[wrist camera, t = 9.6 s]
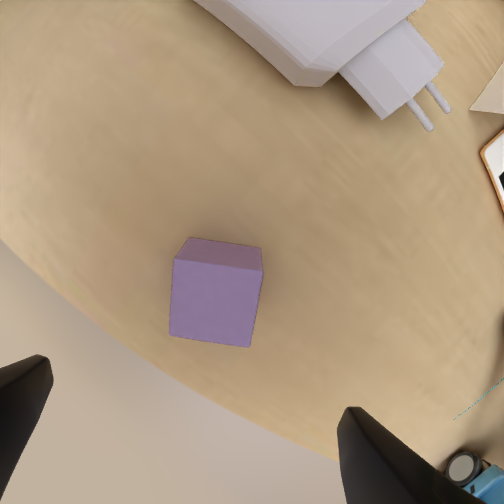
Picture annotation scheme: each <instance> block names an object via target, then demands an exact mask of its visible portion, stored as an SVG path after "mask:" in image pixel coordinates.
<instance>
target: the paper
mask: <svg viewBox="0 0 504 504" xmlns="http://www.w3.org/2000/svg"><path fill="white" fill-rule="evenodd" d="M469 110H474V111H484V112H492V113H500V114H504V62H503V63H502V65H501V66H500V68H499V69H498V71H497V72H496V74H495V75H494V76H493V78H492V79H491V81H490V82H489V83H488V85H487V86H486V88H485V89H484V90H483V92H482V93H481V94H480V96H479V97H478V98H477V100H476V101H475V102H474V104H473V105H472V106H471V108H470V109H469Z"/></svg>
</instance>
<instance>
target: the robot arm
mask: <svg viewBox="0 0 504 504" xmlns="http://www.w3.org/2000/svg"><path fill="white" fill-rule="evenodd" d="M52 386H53V374H52V370H51V364H50V361H49V359H48V358H47V357H44V356H42V355H34V356H31V357H29V358H26V359H24V360H21V361H18V362H16V363H13V364H10V365H8V366H5V367H2V368H0V500H1V498H2V495H3V493H4V491H5V488H6V486H7V484H8V482H9V480H10V477H11V475H12V473H13V471H14V469H15V466H16V464H17V462H18V460H19V458H20V456H21V454H22V452H23V450H24V448H25V446H26V444H27V442H28V440H29V438H30V436H31V434H32V432H33V430H34V428H35V426H36V424H37V422H38V420H39V418H40V415H41V413H42V410H43V408H44V405H45V403H46V400H47V398H48V395H49V393H50V391H51V388H52ZM337 437H338V447H339V459H340V470H341V477H342V482H343V486H344V491H345V496H346V501H347V504H487V503H486V502H484V501H482V500H481V499H479V498H477V497H475V496H474V495H472V494H470V493H469V492H467V491H466V490H464V489H463V488H461V487H459V486H458V485H456V484H455V483H454V482H452V481H451V480H450V479H448V478H447V477H446V476H444V475H443V474H442V473H440V472H439V471H438V470H436V469H435V468H434V467H433V466H431V465H430V464H429V463H428V462H426V461H425V460H424V459H423V458H421V457H420V456H419V455H418V454H416V453H415V452H414V451H413V450H411V449H410V448H409V447H408V446H407V445H405V444H404V443H403V442H402V441H400V440H399V439H398V438H397V437H396V436H394V435H393V434H392V433H391V432H390V431H388V430H387V429H386V428H385V427H384V426H382V425H381V424H380V423H379V422H378V421H376V420H375V419H374V418H373V417H372V416H371V415H369V414H368V413H367V412H366V411H365V410H364V409H362V408H361V407H347V408H346V409H345V411H344V413H343V415H342V418H341V420H340V422H339V424H338V427H337Z"/></svg>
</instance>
